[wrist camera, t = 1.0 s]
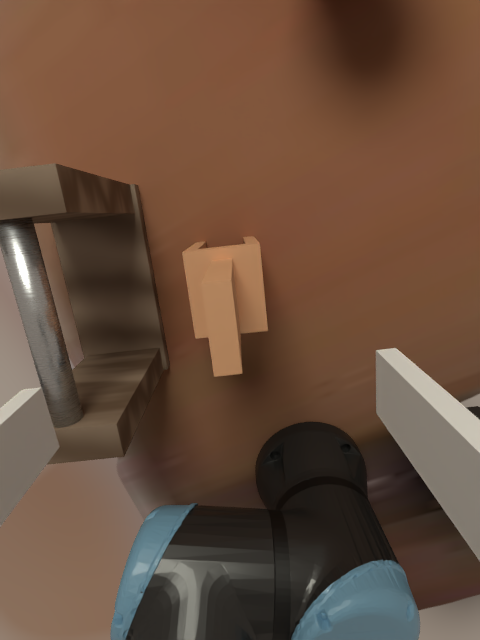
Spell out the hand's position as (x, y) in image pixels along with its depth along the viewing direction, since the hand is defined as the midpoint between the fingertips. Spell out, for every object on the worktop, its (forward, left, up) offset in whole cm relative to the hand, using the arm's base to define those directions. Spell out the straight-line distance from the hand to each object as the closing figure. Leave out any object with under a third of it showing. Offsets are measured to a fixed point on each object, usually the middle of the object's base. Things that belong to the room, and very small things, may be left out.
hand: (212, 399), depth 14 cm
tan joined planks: (0, 0, -31) cm, 31 cm away
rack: (0, +14, -31) cm, 34 cm away
